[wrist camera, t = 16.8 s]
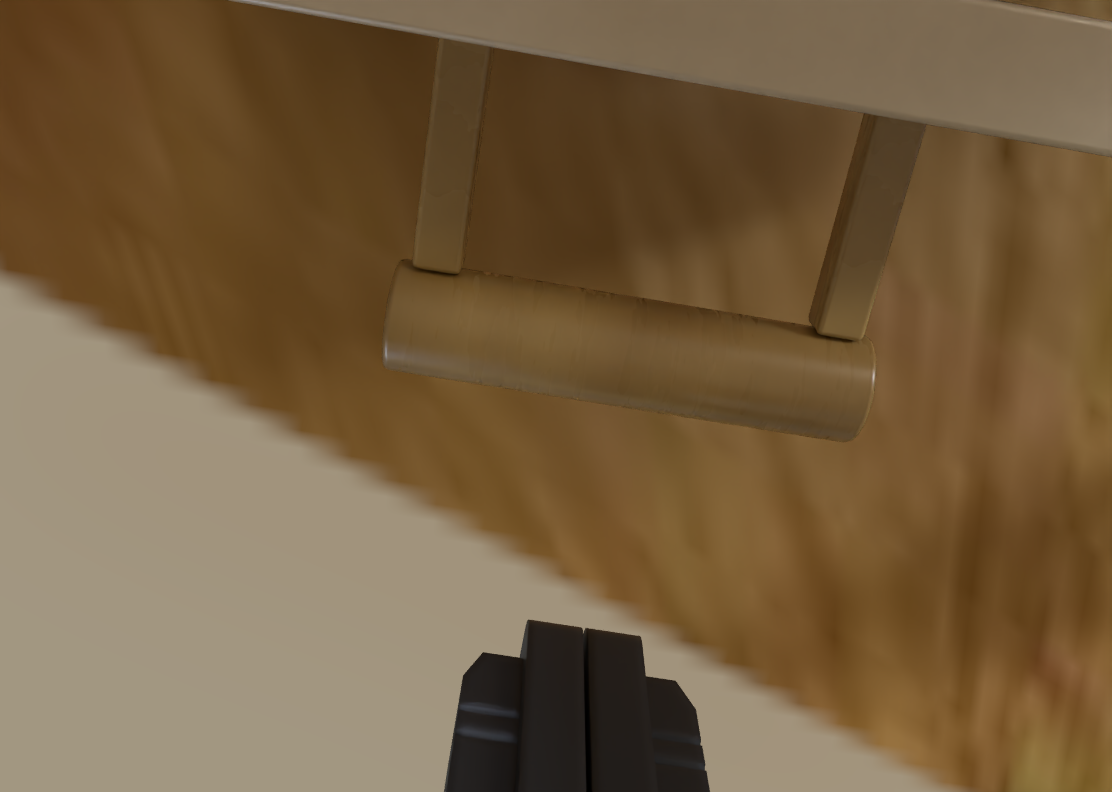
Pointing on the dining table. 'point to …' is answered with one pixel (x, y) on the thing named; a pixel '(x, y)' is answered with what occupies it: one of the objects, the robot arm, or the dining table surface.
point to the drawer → (743, 65)
